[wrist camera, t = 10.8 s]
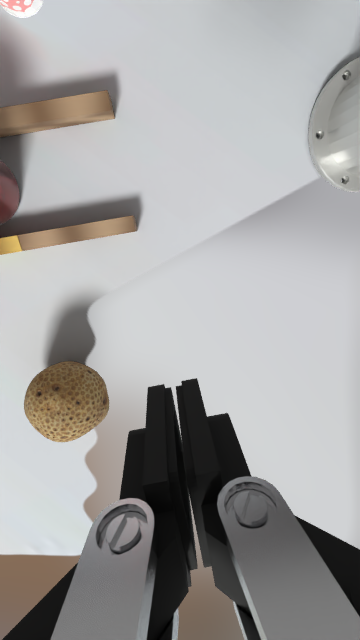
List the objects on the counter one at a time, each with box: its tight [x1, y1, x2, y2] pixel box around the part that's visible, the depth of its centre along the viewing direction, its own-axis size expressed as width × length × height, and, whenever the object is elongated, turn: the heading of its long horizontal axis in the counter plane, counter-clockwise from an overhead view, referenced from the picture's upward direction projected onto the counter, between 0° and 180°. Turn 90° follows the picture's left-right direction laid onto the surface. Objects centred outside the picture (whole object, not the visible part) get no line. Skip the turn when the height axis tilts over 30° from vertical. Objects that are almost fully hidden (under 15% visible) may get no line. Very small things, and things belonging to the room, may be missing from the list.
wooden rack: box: [0, 90, 137, 255], centre depth 30 cm, size 20×13×5 cm, turn 99°
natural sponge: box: [24, 361, 109, 442], centre depth 35 cm, size 9×9×10 cm
